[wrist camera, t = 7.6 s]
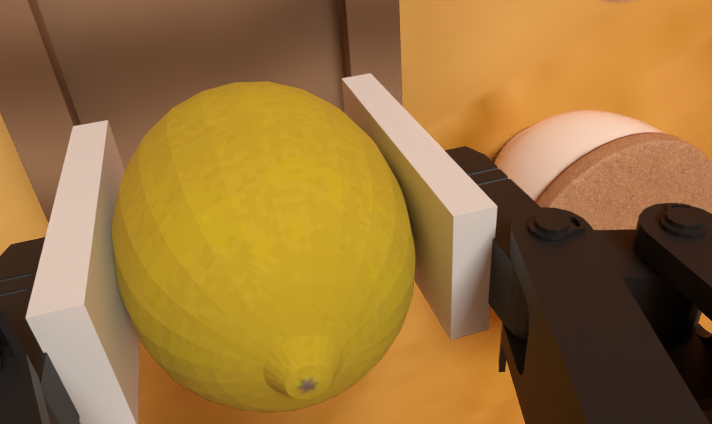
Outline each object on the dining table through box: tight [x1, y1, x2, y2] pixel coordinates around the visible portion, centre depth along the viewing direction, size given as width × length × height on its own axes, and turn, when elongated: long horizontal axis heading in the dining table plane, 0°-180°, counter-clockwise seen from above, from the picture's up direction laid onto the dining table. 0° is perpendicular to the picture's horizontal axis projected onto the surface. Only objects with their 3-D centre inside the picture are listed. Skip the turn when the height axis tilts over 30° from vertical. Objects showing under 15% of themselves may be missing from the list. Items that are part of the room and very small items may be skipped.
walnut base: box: [0, 0, 402, 223], centre depth 23 cm, size 14×14×5 cm
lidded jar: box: [494, 110, 712, 230], centre depth 31 cm, size 11×11×9 cm
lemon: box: [112, 81, 416, 413], centre depth 12 cm, size 6×6×8 cm
